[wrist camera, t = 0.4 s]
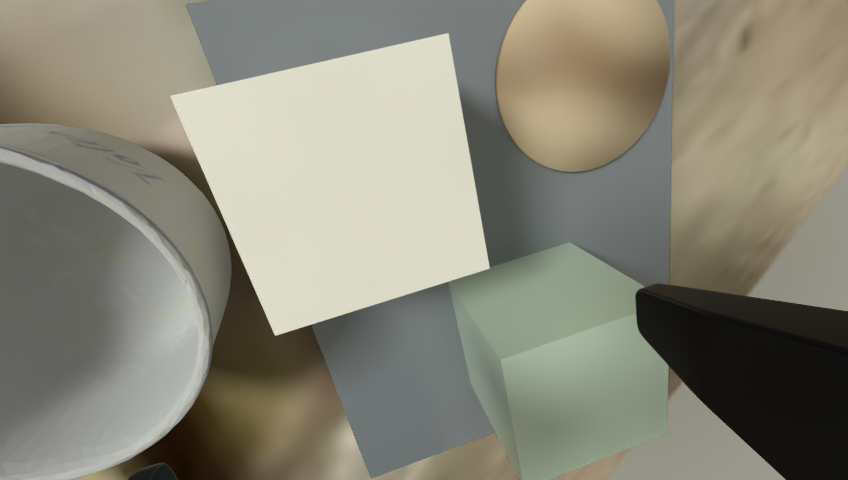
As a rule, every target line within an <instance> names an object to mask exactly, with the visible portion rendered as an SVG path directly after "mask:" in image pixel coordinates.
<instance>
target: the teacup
mask: <svg viewBox="0 0 848 480" xmlns="http://www.w3.org/2000/svg"><path fill="white" fill-rule="evenodd" d="M231 273H232V272H231V255H230V249H229V244H228V240H227V237H226V233H225V230H224V228H223V226H222V223H221V221H220V219H219V217H218V215H217V214H216V212H215V210H214V209H213V207H212V205H211V204H210V202H209V201H208V200H207V198H206V197H205V196H204V194H203V193H202V192H201V191H200V190H199V189H198V188H197V187H196V186H195V185H194V184H193V183H192V182H191V181H190V180H189V179H188V178H187V177H186V176H185V175H184V174H183V173H181V172H180V171H179V170H178V169H177V168H175V167H174V166H173V165H171V164H170V163H168V162H167V161H165V160H164V159H162V158H161V157H159V156H157V155H156V154H154V153H152V152H150V151H148V150H146V149H144V148H142V147H140V146H138V145H136V144H134V143H131V142H129V141H126V140H124V139H121V138H118V137H115V136H112V135H109V134H106V133H102V132H98V131H94V130H89V129H85V128H79V127H73V126H66V125H56V124H39V123H21V124H0V480H74V479H77V478H81V477H84V476H88V475H91V474H94V473H97V472H99V471H102V470H104V469H107V468H110V467H112V466H115V465H117V464H119V463H122V462H124V461H127V460H129V459H131V458H132V457H134V456H136V455H137V454H139V453H141V452H142V451H144V450H145V449H147V448H149V447H150V446H152V445H153V444H155V443H156V442H157V441H159V440H160V439H161V438H163V437H164V436H165V435H166V434H167V433H168V432H169V431H170V430H171V429H172V428H173V427H174V426H175V425H176V424H177V423H178V422H179V421H180V420H182V419H183V418H184V416H185V415H186V413H187V412H188V411H189V409H190V408H191V407H192V405H193V403H194V402H195V400H196V399H197V397H198V395H199V394H200V392H201V390H202V388H203V385H204V383H205V380H206V378H207V376H208V371H209V367H210V363H211V358H212V350H213V344H214V341H215V339H216V336H217V333H218V330H219V327H220V324H221V321H222V318H223V314H224V311H225V308H226V304H227V300H228V296H229V291H230V283H231Z"/></svg>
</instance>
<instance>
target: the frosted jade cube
mask: <svg viewBox="0 0 848 480" xmlns="http://www.w3.org/2000/svg"><path fill="white" fill-rule="evenodd" d="M448 283H449V288H450V292H451V297H452V301H453V306H454V310H455V315H456V319H457V323H458V328H459V332H460V337H461V341H462V346H463V350H464V355H465V359H466V364H467V368H468V373H469V377H470V382H471V385H472V387H473V389H474V391H475V393H476V395H477V397H478V399H479V401H480V403H481V405H482V407H483V409H484V411H485V413H486V415H487V417H488V419H489V421H490V423H491V425H492V427H493V429H494V431H495V433H496V435H497V437H498V439H499V441H500V443H501V445H502V447H503V449H504V451H505V453H506V455H507V457H508V459H509V461H510V463H511V464H512V466H513V468H514V470H515V472H516V474H517V476H518V478H519V480H550V479H553V478H555V477H558V476H560V475H563V474H565V473H568V472H570V471H573V470H575V469H578V468H580V467H583V466H585V465H588V464H590V463H593V462H595V461H598V460H600V459H603V458H605V457H608V456H611V455H613V454H616V453H618V452H621V451H623V450H626V449H628V448H631V447H633V446H636V445H638V444H641V443H643V442H646V441H648V440H651V439H653V438H656V437H658V436H661V435H663V434H666V433H667V421H668V419H667V418H668V367H669V366H668V364H667V363H666V362H665V361H664V360H663V359H662V358H661V357H660V356H659V355H658V353H657V352H656V351H655V350H654V349H653V348H652V347H651V346H650V345H649V343H648V342H647V341H646V340H645V339H644V338H643V337H642V335H641V334H640V332H639V330H638V327H637V319H636V302H635V295H636V292H637V291H638V290H639V289H641V288H643V287H645V286H643V285H641V284H640V283H638V282H636V281H635V280H633V279H631V278H630V277H628V276H626V275H625V274H623V273H621V272H619V271H618V270H616V269H614V268H613V267H611V266H609V265H608V264H606V263H604V262H603V261H601V260H599V259H598V258H596V257H594V256H592V255H591V254H589V253H587V252H586V251H584V250H582V249H581V248H579V247H577V246H576V245H574V244H572V243H571V242H569V243H566V244H563V245H560V246H556V247H553V248H550V249H547V250H544V251H540V252H537V253H534V254H531V255H528V256H524V257H521V258H518V259H515V260H512V261H508V262H505V263H502V264H499V265H496V266H492V267H490V269H487V270H484V271H480V272H477V273H474V274H471V275H468V276H465V277H461V278H458V279H455V280H452V281H449V282H448Z"/></svg>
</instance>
